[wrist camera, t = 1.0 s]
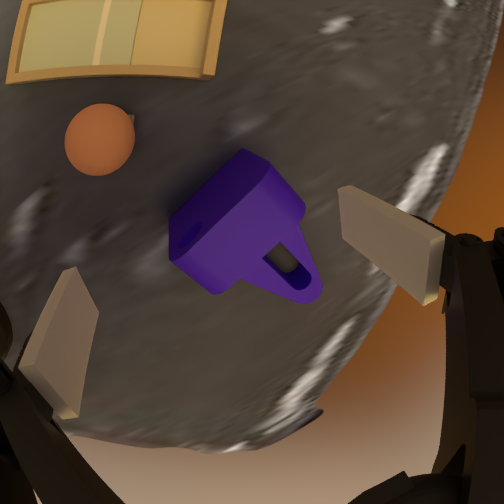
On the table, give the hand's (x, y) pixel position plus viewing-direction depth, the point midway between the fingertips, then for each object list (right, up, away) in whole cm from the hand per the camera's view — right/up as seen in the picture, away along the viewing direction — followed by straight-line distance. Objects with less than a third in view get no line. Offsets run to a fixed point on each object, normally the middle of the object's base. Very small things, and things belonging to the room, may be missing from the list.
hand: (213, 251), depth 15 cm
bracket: (+3, +2, +23) cm, 23 cm away
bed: (-12, +22, +9) cm, 27 cm away
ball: (-10, +9, +8) cm, 16 cm away
